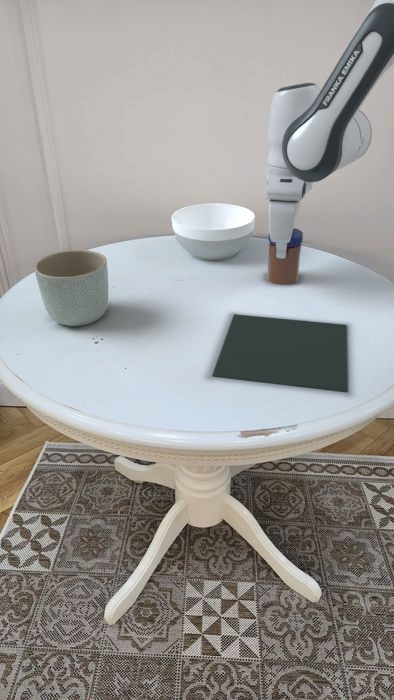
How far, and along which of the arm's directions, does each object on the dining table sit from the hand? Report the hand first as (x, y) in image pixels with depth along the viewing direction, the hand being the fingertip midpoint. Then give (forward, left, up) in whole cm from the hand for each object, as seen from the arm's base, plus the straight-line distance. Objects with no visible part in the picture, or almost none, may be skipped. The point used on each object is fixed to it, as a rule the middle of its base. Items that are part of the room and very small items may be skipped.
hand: (284, 248), depth 108 cm
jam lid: (0, 0, +3) cm, 3 cm away
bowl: (+17, -12, -7) cm, 22 cm away
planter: (+35, +24, -7) cm, 43 cm away
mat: (-3, +28, -7) cm, 29 cm away
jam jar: (0, 0, -7) cm, 7 cm away
